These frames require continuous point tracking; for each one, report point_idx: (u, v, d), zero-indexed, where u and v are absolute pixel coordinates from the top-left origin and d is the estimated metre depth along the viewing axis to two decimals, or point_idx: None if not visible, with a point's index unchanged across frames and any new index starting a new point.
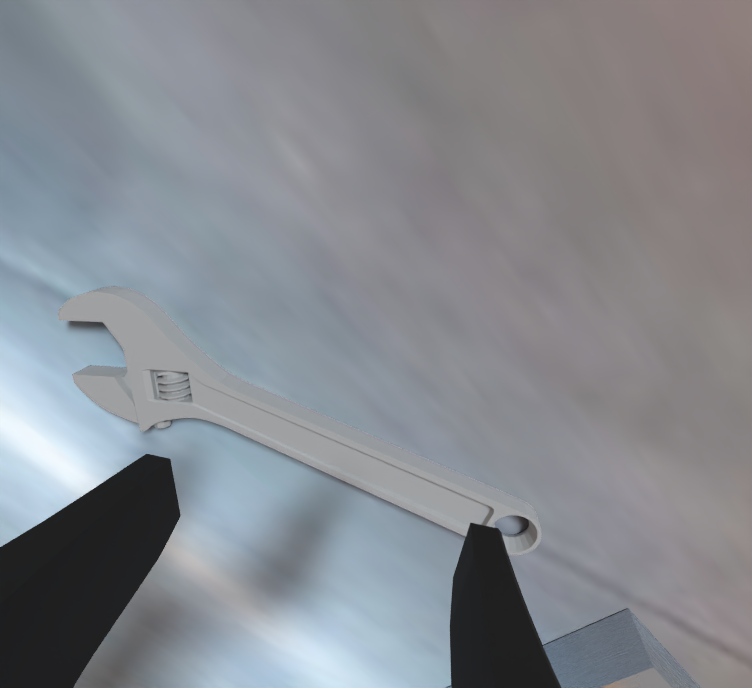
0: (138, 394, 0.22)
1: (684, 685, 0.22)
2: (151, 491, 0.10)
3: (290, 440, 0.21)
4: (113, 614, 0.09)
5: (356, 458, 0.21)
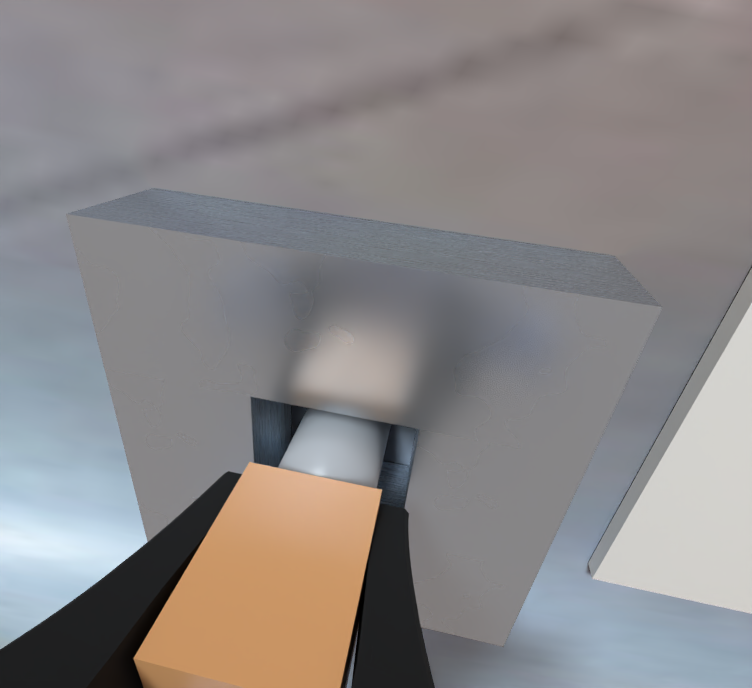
0: None
1: (263, 223, 0.10)
2: None
3: None
4: None
5: None
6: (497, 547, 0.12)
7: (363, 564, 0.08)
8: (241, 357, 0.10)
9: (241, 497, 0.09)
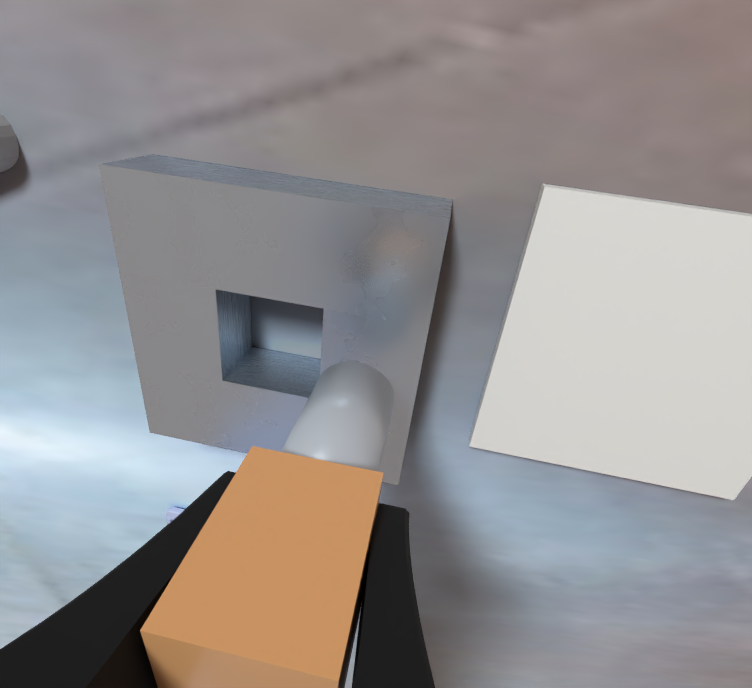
0: None
1: (223, 174, 0.16)
2: None
3: None
4: None
5: None
6: None
7: (365, 543, 0.08)
8: (209, 260, 0.16)
9: (244, 479, 0.09)
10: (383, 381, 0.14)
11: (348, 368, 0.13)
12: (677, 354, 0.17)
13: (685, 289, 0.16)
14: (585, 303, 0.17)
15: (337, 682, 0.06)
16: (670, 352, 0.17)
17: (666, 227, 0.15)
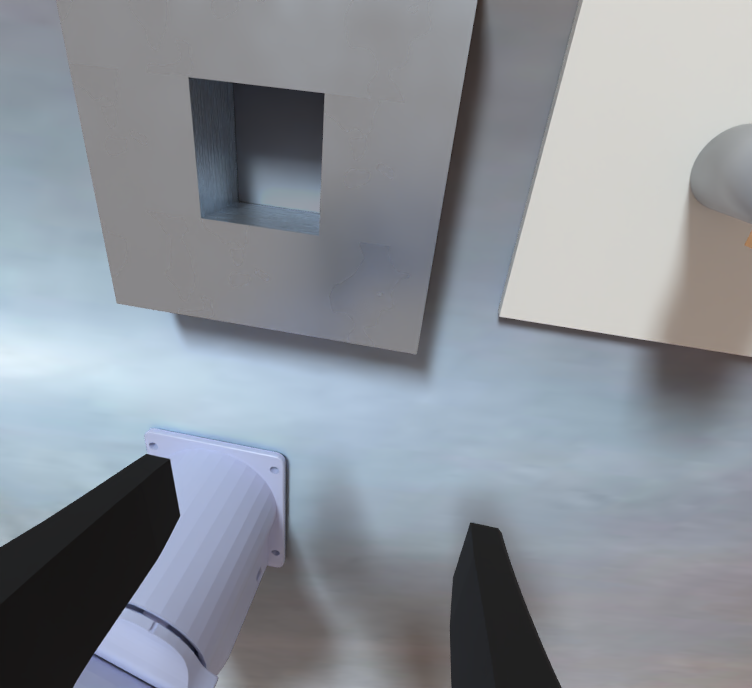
0: None
1: None
2: (151, 491, 0.10)
3: None
4: (113, 614, 0.09)
5: None
6: (399, 226, 0.14)
7: None
8: (179, 32, 0.13)
9: None
10: None
11: None
12: None
13: None
14: (650, 94, 0.14)
15: None
16: None
17: None
